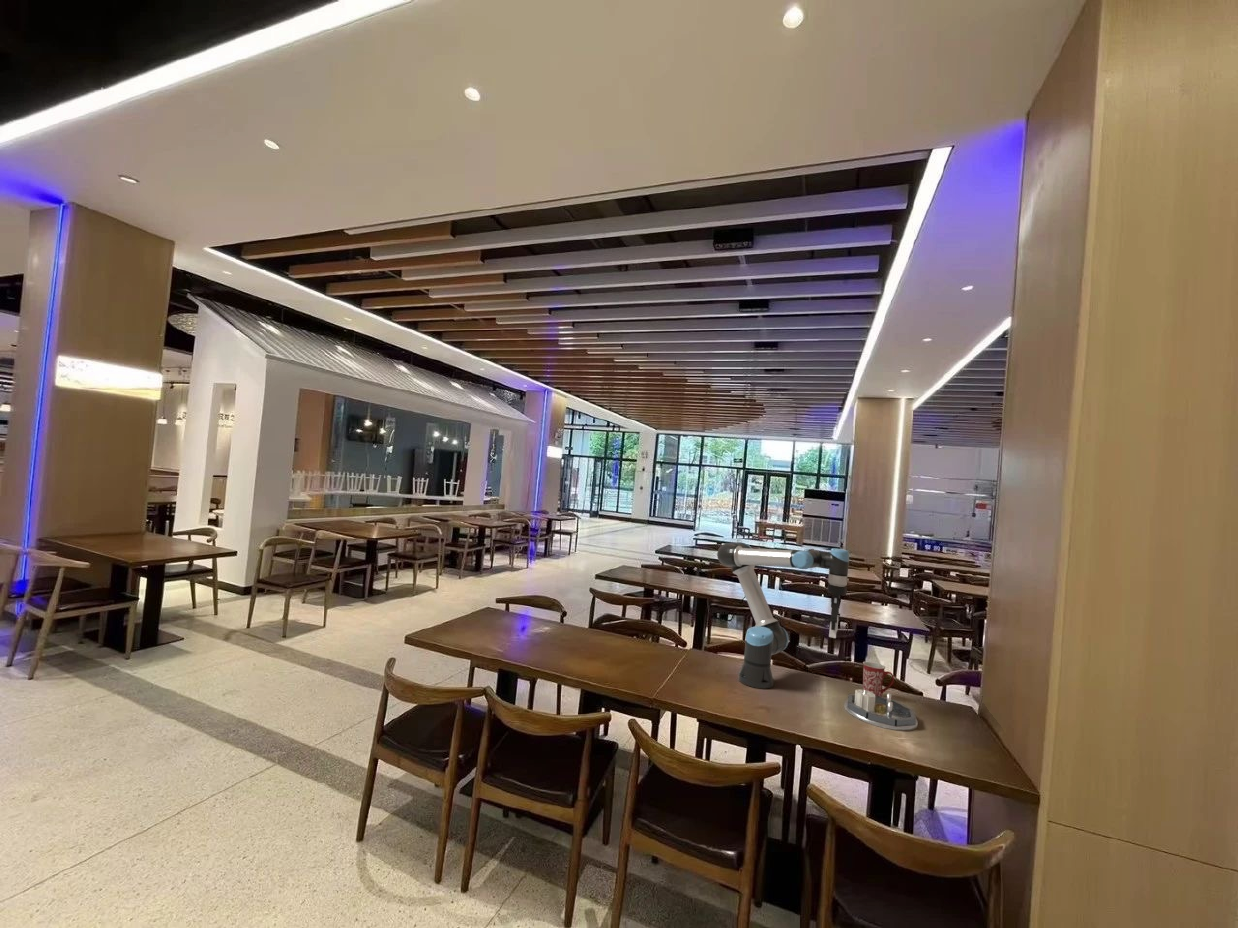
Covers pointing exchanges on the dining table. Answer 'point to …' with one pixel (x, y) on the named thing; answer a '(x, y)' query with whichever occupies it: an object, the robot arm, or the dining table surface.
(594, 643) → the dining table surface
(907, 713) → the tray
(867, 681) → the mug
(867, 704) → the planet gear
